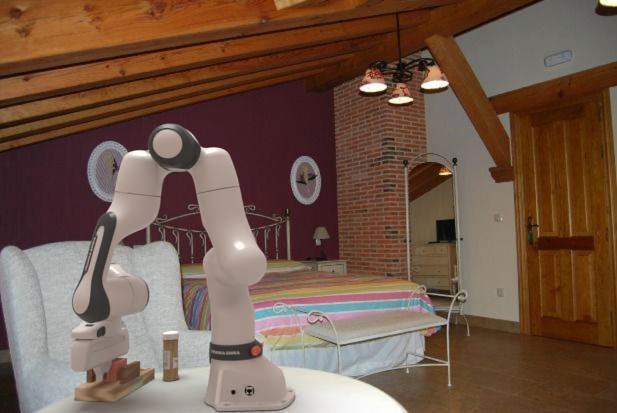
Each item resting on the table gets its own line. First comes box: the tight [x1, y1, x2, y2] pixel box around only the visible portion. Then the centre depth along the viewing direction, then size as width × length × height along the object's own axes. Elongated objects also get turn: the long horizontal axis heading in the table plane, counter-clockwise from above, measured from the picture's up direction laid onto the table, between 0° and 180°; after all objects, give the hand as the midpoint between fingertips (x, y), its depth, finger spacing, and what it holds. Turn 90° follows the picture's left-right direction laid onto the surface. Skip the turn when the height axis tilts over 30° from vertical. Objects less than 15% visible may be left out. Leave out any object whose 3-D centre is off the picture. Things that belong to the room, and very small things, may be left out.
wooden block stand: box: [74, 360, 156, 403], centre depth 125 cm, size 11×20×7 cm, turn 170°
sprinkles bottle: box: [162, 330, 180, 382], centre depth 133 cm, size 5×5×13 cm
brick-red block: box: [102, 357, 128, 382], centre depth 123 cm, size 5×5×5 cm
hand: (102, 380), depth 118 cm, fingers closed
